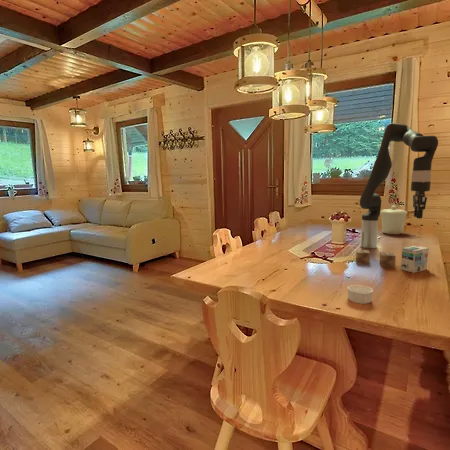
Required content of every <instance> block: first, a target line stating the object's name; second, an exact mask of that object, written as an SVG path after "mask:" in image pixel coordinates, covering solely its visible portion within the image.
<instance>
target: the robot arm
mask: <svg viewBox="0 0 450 450" xmlns="http://www.w3.org/2000/svg"><path fill="white" fill-rule="evenodd" d="M380 142H381V143H380V146H379V150H378V153H377V155H376V158H375V161H374V163H373V166H372V168H371V172H370V176H369V178H368V179H367V183H366V185H365V187H364V190H363V191H362V194H361V196H360V199H359V206H360V208H361V209H363V210H368V211H367V212H365V213H363V214H362V216H361V229H360V239H359V242H360V243H359V245H360V248H364V249H376V248H377V246H378V245H377V244H378V231H379V229H378V228H379V217H381V212H380V211H382V208H381V207H382V198H381V195H380V194H378V193H375V192H376V190H377V189H378V188H379V187H380V186H381V185H382V183H383V182H384V181H385V180H386V179H387V178H388V176H389V174H390V172H391V171H392V170H391V169H392V166H393V164H392V162H393V161H392V159H391V154H390V152H389V149H390V142H396V143H397V142H398V143H400V142H401V143H402V142H403V143H404V145H406V146H408V147H409V148H410V151H412V152H414V153H419V152H420V153H421V152H422V153H424V154H423V156H418V157H416V158H414V159H413V164H412V174H411V181H410V182H411V183H410V184H411V185H410V191H411V192H415V193H414V194H413V195H412V207H413V209H414V211H413V217H414V218H416V219H418V220H419V219H420V220H421V219H423V214H424V210H426V206H427V199H428V197H427V196H426V192H430V191H431V181H432V180H431V179H432V162H433V158H434V156H435V154H436V150H437V148H438V146H439V140H438V137H437V136H436V135H424V134H422V133H421V132H419V131H415V130H414V129H412V128H411V127H410V126H409V125H406V124H404V123H396V122H395V123H394V122H389V123H388V124H387V125H386V127H385V129H384V132H383V135H382V139H381V141H380Z"/></svg>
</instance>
